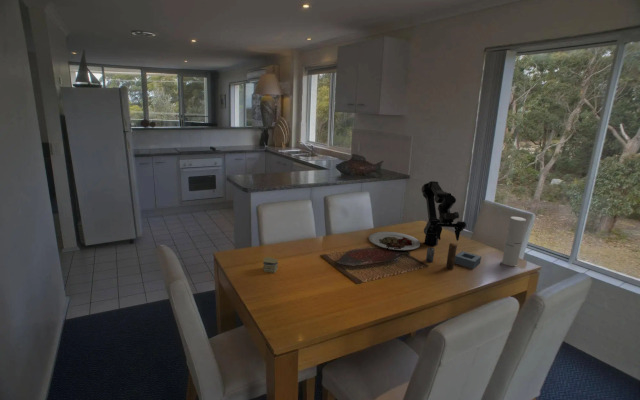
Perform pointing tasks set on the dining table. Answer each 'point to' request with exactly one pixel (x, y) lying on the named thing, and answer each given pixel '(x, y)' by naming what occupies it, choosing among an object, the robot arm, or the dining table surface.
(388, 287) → the dining table surface
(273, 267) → the grey lidded box
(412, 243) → the plated food
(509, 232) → the cylindrical container
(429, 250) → the short grey pin
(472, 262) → the hole block
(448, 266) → the tall walnut pin
